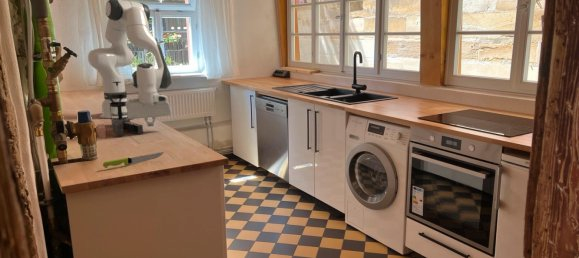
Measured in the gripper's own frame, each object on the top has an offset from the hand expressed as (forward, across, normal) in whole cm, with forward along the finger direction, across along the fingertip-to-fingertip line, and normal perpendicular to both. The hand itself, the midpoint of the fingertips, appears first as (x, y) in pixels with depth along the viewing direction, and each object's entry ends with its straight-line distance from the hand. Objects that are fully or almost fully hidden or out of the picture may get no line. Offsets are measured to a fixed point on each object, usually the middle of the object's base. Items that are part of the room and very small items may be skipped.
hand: (150, 126), depth 209 cm
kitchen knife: (+3, -12, -51) cm, 53 cm away
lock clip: (+3, -22, +3) cm, 22 cm away
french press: (+3, -12, +22) cm, 25 cm away
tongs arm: (+3, -8, +3) cm, 9 cm away
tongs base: (+3, -13, +5) cm, 14 cm away
